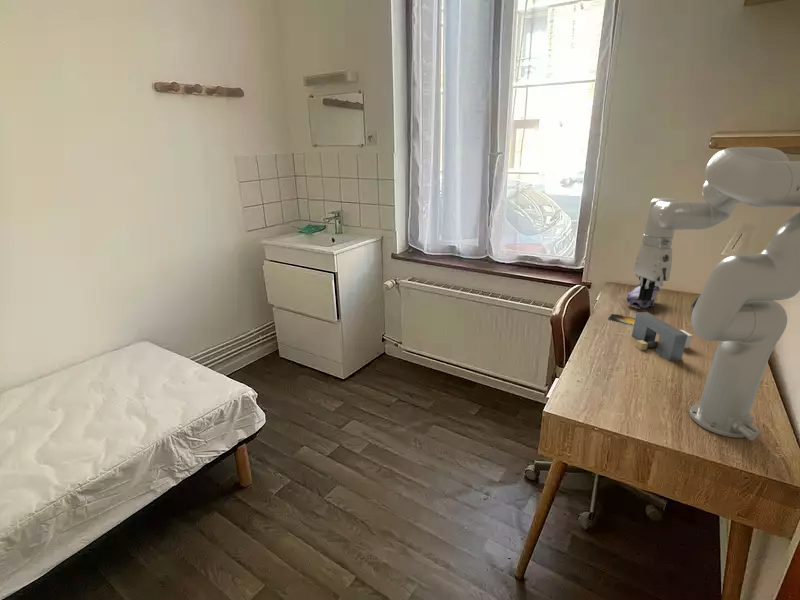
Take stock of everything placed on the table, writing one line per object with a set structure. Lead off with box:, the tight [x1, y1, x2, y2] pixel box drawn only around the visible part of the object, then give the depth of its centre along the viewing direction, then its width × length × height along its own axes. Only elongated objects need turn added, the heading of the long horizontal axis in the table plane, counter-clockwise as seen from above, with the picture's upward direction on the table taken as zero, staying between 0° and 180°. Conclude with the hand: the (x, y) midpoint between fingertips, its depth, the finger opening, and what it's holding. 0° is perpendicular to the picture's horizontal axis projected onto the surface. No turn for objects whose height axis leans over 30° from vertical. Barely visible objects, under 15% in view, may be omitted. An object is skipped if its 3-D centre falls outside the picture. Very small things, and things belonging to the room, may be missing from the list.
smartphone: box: [607, 313, 636, 326], centre depth 161 cm, size 7×1×15 cm
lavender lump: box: [626, 283, 662, 310], centre depth 174 cm, size 10×18×10 cm, turn 127°
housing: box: [631, 311, 687, 362], centre depth 140 cm, size 18×4×8 cm, turn 8°
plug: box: [635, 329, 693, 351], centre depth 141 cm, size 4×16×4 cm, turn 99°
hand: (644, 299), depth 135 cm, fingers closed
